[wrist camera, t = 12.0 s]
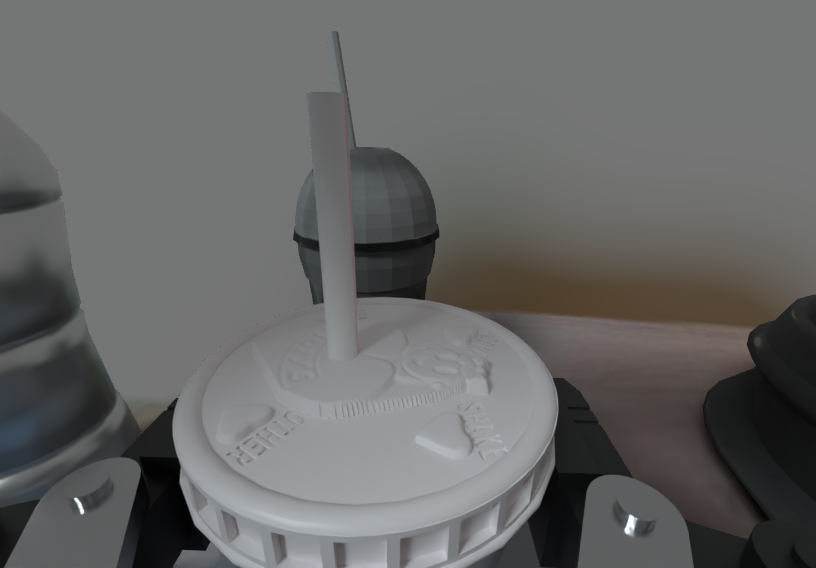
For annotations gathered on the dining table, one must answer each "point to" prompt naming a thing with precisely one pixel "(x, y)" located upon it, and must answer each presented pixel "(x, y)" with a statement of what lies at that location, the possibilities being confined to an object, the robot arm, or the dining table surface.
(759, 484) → the casserole
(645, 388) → the dining table surface
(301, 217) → the beverage cup
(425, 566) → the smoothie
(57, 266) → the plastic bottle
